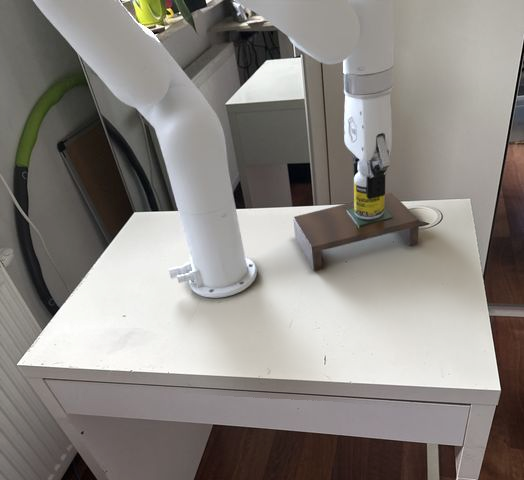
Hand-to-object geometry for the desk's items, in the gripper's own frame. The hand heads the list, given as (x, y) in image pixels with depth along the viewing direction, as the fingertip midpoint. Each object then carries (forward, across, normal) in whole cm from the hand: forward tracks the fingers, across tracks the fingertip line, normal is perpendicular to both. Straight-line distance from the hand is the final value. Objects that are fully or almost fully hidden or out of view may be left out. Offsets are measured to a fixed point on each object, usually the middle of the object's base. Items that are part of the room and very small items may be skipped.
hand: (369, 188), depth 93 cm
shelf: (+10, 0, -3) cm, 11 cm away
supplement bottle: (+5, 0, 0) cm, 5 cm away
